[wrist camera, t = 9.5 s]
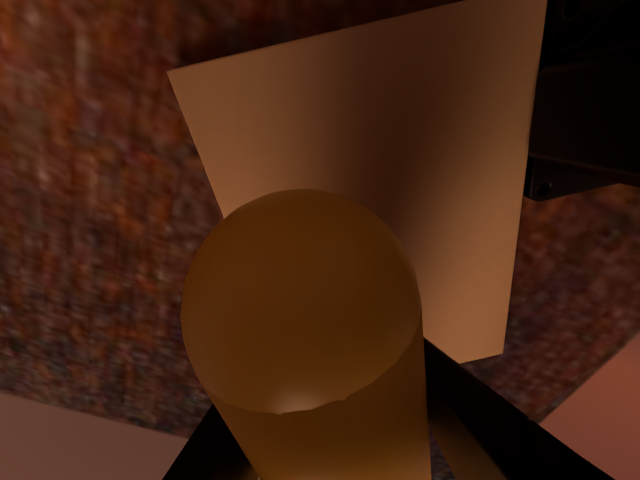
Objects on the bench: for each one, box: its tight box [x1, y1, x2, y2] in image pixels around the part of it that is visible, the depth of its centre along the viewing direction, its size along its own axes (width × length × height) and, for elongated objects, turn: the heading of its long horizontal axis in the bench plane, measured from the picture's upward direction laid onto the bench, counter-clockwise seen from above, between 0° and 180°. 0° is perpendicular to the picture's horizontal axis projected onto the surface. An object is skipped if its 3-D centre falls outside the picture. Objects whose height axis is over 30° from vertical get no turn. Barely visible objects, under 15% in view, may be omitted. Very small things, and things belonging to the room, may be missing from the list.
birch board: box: [167, 0, 547, 363], centre depth 11 cm, size 11×15×1 cm
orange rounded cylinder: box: [180, 189, 431, 480], centre depth 8 cm, size 14×5×5 cm, turn 12°
